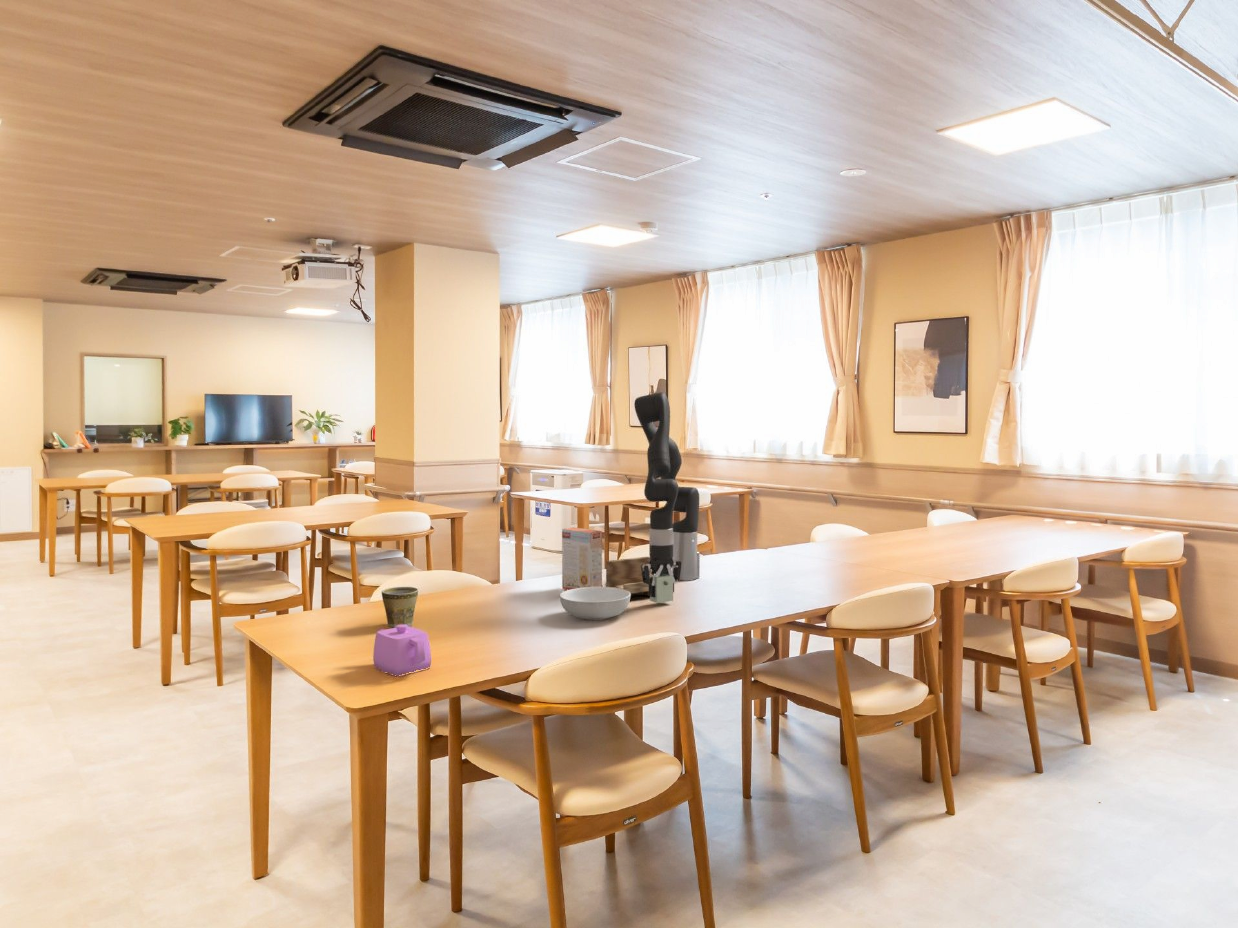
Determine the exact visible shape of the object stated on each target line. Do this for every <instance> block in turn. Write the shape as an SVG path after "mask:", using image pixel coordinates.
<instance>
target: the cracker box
mask: <svg viewBox="0 0 1238 928" xmlns="http://www.w3.org/2000/svg"><path fill="white" fill-rule="evenodd" d="M561 530H562V531H561V532H562V533H561V537H562V539H561V541H562V543H561V544H562V546H561V550H562V551H561V553H562V554H561V555H562V556H561V557H562V560H561V564H562V565H561V566H562V567H561V569H562V570H561V571H562V572H561V573H562V575H561V576H562V577H561V578H562V581H561V582H562V585H561V589H562V590H565V591H567V590H571V589H576V588H583V587H603V531H602V530H597V529H589V528H581V527H567V528H562V529H561Z"/></svg>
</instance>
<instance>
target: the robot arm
mask: <svg viewBox="0 0 1238 928" xmlns="http://www.w3.org/2000/svg"><path fill="white" fill-rule="evenodd" d="M670 406H671V405H670V402H669V398H668V396H667V395H666V393H664V392H655V393H650V394H645V395H642V396H639V397H637V398H635V400H634V410H635V414H636V417H637V419H638V422H639V423H640V426H641V429H642V430H643V432H644V435H645V437H646V439H647V442H648V444H649V445H648V448H647V453H646V455H647V456H646V457H647V470H648V471H647V478H646V481H645V485H644V490H643V491H644V497H645V499H646V500H647V501H649V502H665V504H664V506H662V507H660V508H655V509H654V508H653V509H652V510H651V511H650V514H649V517H650V518H649V525H650V526H649V538H648V539H649V543H648V544H649V550H648V551H649V553H648V554H649V556H648V557H650V562H649V564H646V565H643V564H642V565H641V570H642V578H643V583H646V584H648V585H649V595H650V596H651V597H655V583H656V578H657V577H659V576H660V575H663V574H664V575H669V576H672V575H673V594H674V593H675V583H676V581H693V580H697V579H700V561H701V560H700V558H701V556H700V555H701V554H700V551H698V528H699V527H698V526H699V513H700V511H699V510H700V492H699V490H698V489H697V488H696V487H693V486H692V487H691V486H679V483H678V482H677V481H676V478H677V475H678V473H679V472H680V469H681V467H682V461H683V460H682V455H681V452H680V449H679V447H678V444H677V442H676V441H674V439H673V438H671V437H670V429H671V427H670V425H671V407H670ZM656 422H659V423H658V427H656V424H654V423H656ZM674 512H675V513H685V517H684V518H683V519H681V520H678V521H675V522H673V521H674V519H673V517H674ZM650 568H651V572H650V575H649V571H650ZM652 577H653V580H652ZM650 596H649V597H650Z"/></svg>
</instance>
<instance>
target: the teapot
mask: <svg viewBox="0 0 1238 928" xmlns="http://www.w3.org/2000/svg"><path fill="white" fill-rule="evenodd" d="M431 653H432V652H431V645H430V641H429V636H428V633H427V632H426V631H424V630H422V629H419V628H416V627H413V626H410V627H409V626H407V625H397V626H396V628H388V629H386V628H384V629H383V628H382V629H378V631H376V634H375V638H374V643H373V656H372V657H373V658H372V659H373V665H374V668H375V667H376V668H375V669H377V670H378V669H379V671H380V670H382V671H383V672H382V671H381V672H382V673H384V672H387V673H389V674H393V675H396V676H395V677H397V676H399V675H402V674H406V673H409V672H414V671H416V670H421V669H426V668H428V667H430V668H431V663H432V654H431ZM387 673H386V674H387ZM389 674H388V675H389ZM393 675H392V676H393ZM399 677H400V676H399Z"/></svg>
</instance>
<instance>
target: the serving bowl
mask: <svg viewBox="0 0 1238 928" xmlns="http://www.w3.org/2000/svg"><path fill="white" fill-rule="evenodd" d="M631 597H632V596H631V594H630V592H629V591H627V590H624V589H620V588H613V587H606V586H602V587H583V588H576V589H571V590H564V591H562V592H561V593H560V594H559V601H560V604H561V606H562V608H563V610H564V611H565V612H566V613H567V614H569V615H571V616H573V617H576V618H579V619H583V620H588V621H603V620H607V619H610V618H612V617H613V618H614V617H615V616H618V615H620V614H622V613H623V612H625V610H626V609H627V608H628V606H629V604H630V602H631V601H630V600H631Z"/></svg>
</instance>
